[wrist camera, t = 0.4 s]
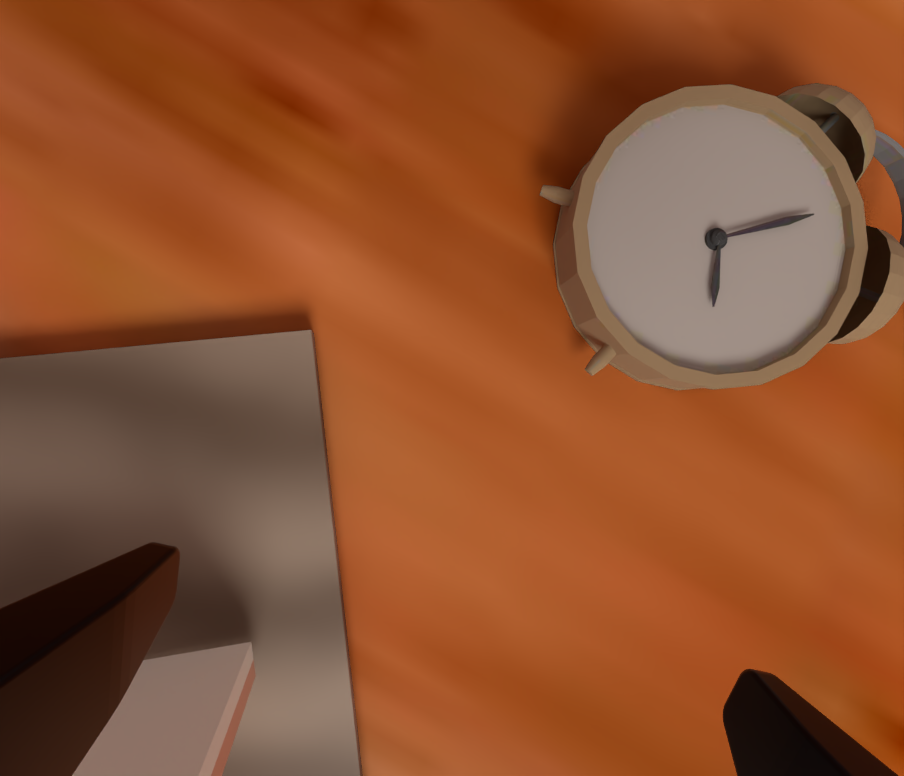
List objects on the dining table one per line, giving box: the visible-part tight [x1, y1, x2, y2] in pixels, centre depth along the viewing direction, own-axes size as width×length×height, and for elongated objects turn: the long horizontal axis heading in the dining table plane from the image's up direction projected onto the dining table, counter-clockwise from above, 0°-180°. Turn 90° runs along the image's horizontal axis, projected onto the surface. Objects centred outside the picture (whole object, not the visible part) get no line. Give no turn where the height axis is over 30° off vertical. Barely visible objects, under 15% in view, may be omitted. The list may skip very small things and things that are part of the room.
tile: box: [72, 642, 256, 776], centre depth 15 cm, size 7×10×1 cm
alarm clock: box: [540, 83, 904, 390], centre depth 22 cm, size 11×5×15 cm
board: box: [0, 330, 362, 776], centre depth 20 cm, size 18×16×1 cm
